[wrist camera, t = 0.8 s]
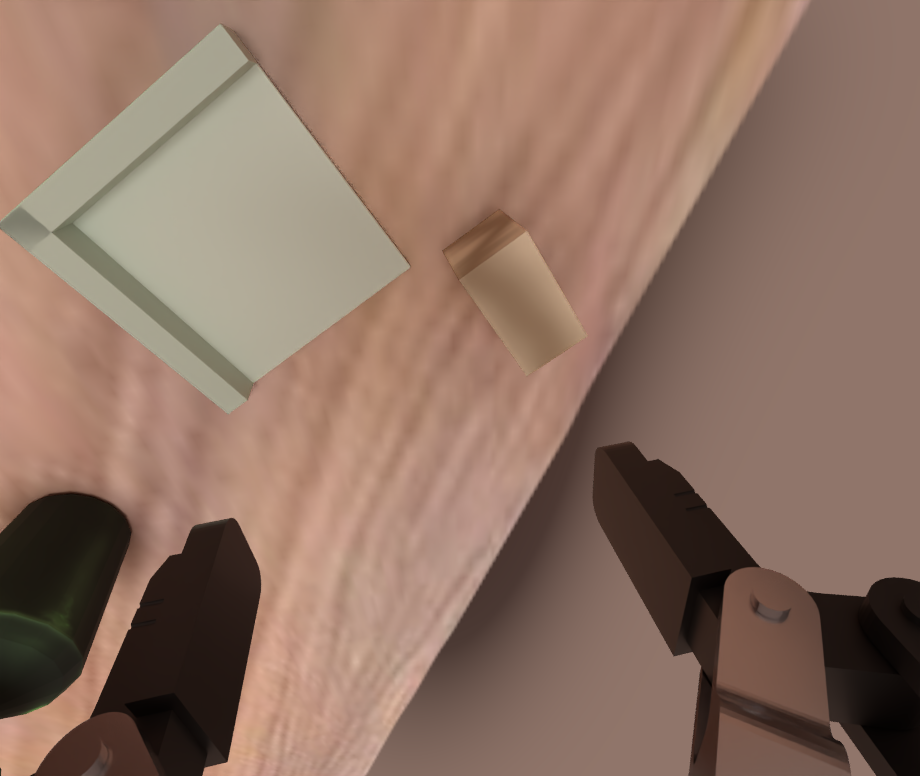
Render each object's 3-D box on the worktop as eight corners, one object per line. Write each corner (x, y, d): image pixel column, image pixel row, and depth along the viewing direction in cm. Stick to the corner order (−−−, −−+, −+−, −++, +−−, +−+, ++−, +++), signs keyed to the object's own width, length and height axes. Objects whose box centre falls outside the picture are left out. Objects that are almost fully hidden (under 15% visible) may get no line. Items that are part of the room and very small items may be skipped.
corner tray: (233, 30, 22) (220, 23, 20) (409, 264, 29) (414, 277, 27) (27, 213, 24) (-5, 224, 22) (236, 392, 31) (228, 414, 29)
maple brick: (498, 208, 28) (527, 230, 24) (553, 301, 32) (587, 336, 27) (442, 250, 29) (458, 279, 24) (502, 336, 33) (526, 376, 28)
